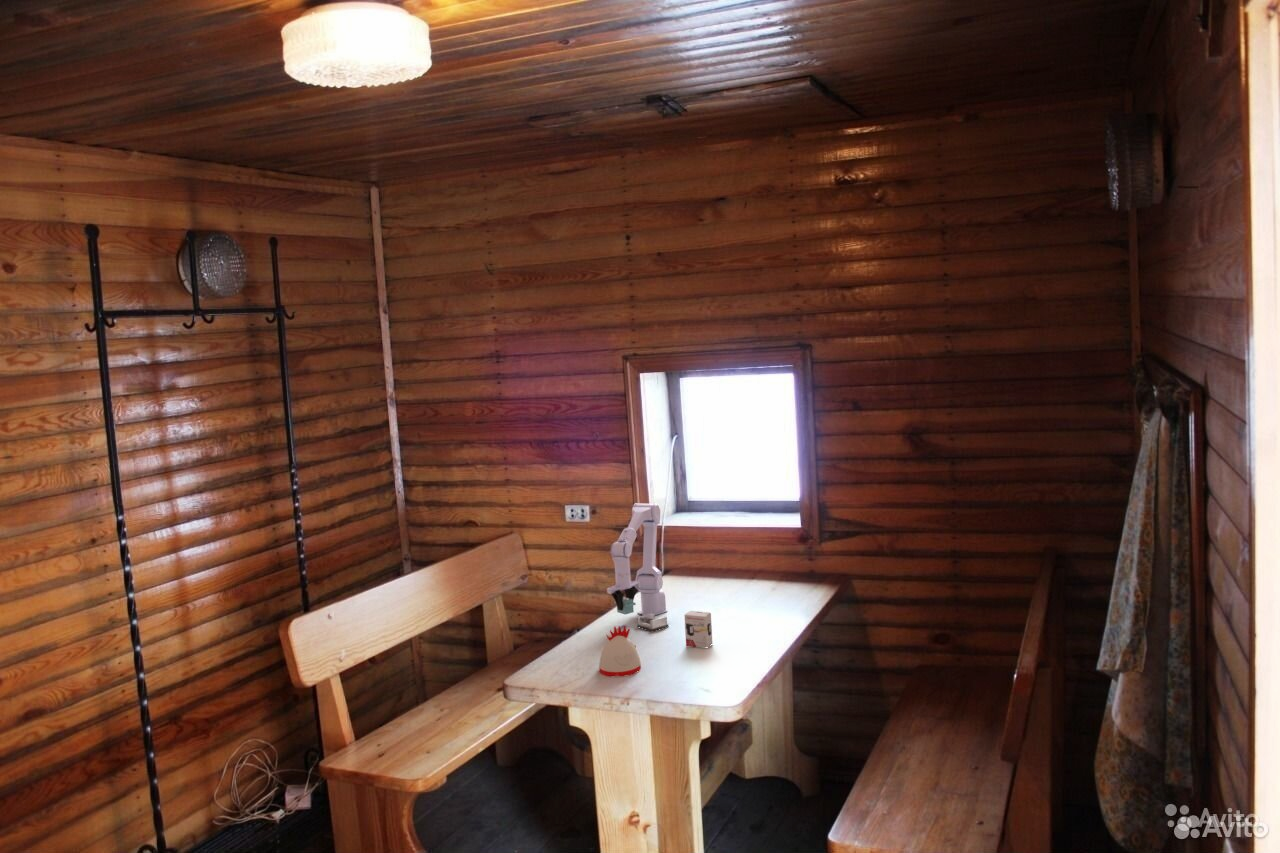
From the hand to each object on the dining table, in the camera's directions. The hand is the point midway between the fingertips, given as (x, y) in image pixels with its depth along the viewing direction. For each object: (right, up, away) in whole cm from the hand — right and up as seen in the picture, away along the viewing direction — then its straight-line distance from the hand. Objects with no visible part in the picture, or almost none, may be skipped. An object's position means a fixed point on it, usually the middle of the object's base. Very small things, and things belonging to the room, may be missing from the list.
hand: (625, 608), depth 386 cm
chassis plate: (+10, -7, +1) cm, 13 cm away
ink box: (+27, -9, -24) cm, 37 cm away
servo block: (0, -1, 0) cm, 2 cm away
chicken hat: (-1, -13, -44) cm, 46 cm away
